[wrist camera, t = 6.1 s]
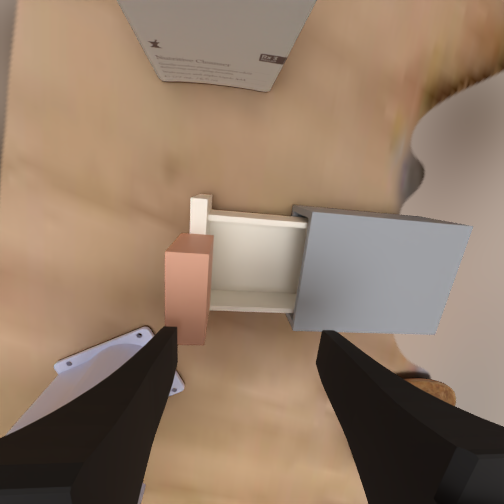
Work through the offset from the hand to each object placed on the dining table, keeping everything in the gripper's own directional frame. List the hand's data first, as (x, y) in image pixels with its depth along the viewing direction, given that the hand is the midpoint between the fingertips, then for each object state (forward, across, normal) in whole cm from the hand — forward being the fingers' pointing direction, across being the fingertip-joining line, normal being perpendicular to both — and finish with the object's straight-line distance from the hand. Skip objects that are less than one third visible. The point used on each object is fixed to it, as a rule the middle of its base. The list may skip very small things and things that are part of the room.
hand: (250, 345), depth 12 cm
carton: (+11, -10, -2) cm, 15 cm away
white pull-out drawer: (+10, -2, -2) cm, 10 cm away
